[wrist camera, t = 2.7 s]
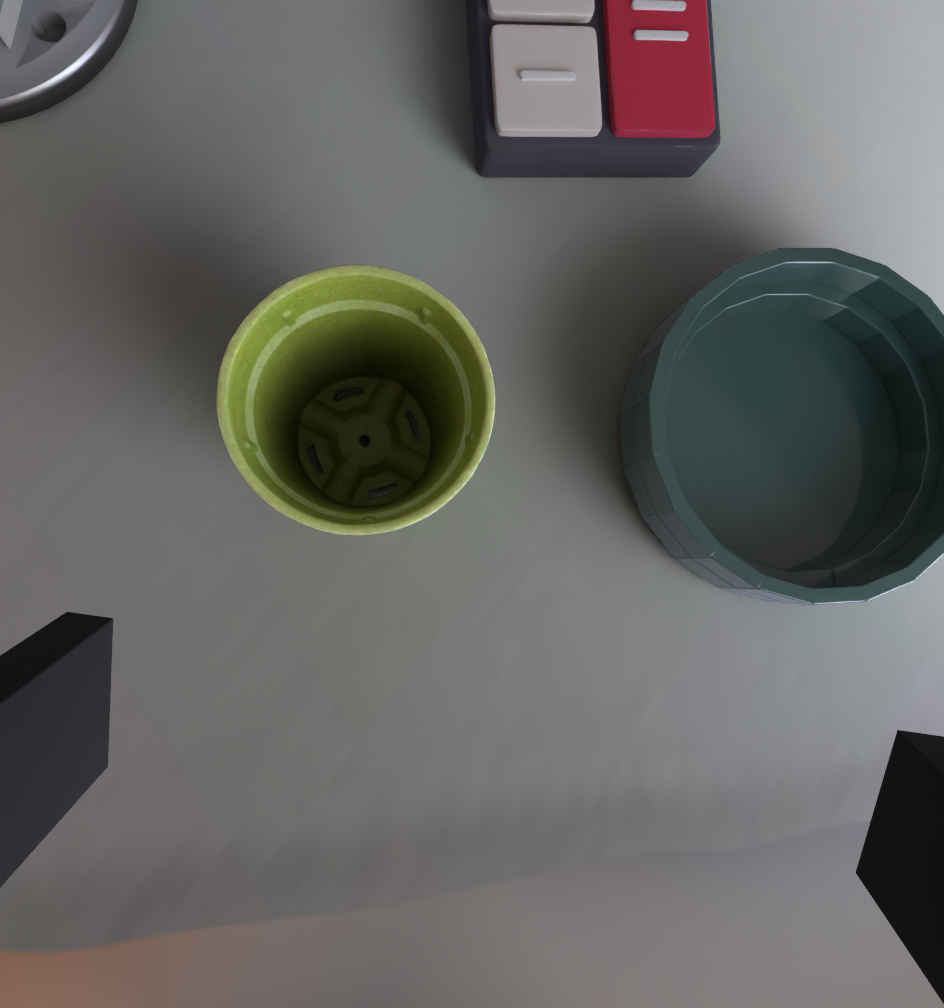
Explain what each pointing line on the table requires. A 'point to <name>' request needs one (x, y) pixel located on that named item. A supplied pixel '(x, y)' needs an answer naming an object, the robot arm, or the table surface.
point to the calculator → (592, 87)
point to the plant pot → (355, 399)
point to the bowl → (794, 429)
